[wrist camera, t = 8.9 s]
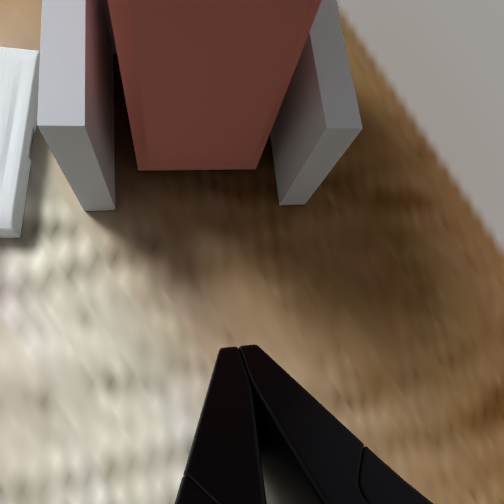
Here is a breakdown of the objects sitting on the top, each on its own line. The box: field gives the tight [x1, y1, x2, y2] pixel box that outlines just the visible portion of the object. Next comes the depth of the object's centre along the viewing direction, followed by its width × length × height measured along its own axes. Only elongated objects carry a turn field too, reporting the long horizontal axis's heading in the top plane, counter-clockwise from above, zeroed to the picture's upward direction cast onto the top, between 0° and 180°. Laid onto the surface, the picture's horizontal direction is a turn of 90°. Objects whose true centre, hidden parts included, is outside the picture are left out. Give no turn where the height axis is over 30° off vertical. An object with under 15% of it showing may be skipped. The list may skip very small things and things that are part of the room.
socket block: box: [37, 0, 363, 211], centre depth 14 cm, size 9×9×10 cm
